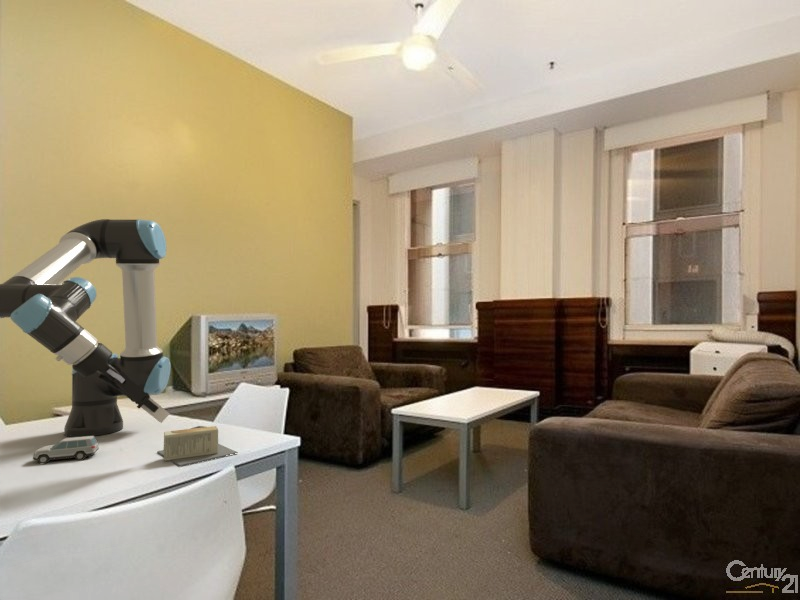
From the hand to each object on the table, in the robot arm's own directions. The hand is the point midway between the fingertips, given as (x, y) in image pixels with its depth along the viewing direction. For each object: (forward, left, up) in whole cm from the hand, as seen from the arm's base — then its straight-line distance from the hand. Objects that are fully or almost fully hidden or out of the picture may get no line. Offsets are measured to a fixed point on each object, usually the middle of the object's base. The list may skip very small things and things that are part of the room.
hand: (164, 417), depth 114 cm
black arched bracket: (-10, +12, -11) cm, 19 cm away
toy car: (-18, -17, -10) cm, 27 cm away
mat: (+1, +8, -10) cm, 13 cm away
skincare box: (+1, -1, -6) cm, 7 cm away
